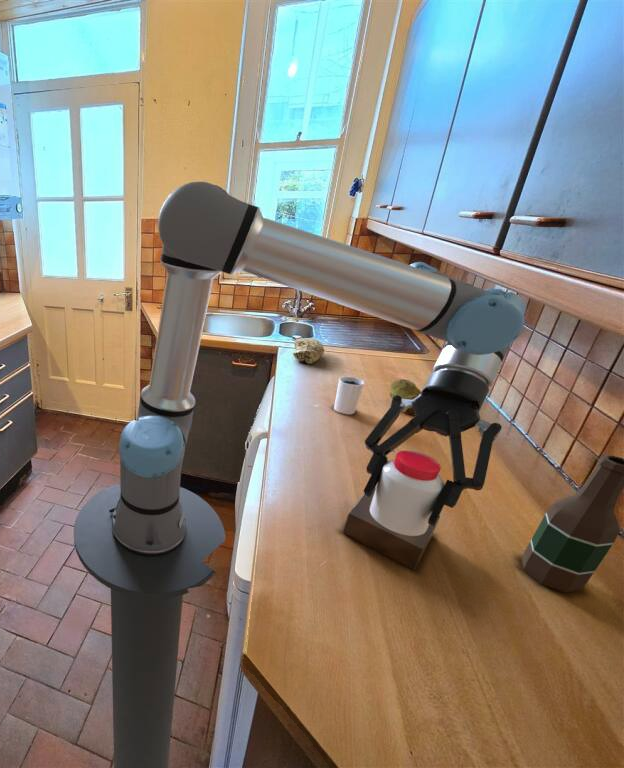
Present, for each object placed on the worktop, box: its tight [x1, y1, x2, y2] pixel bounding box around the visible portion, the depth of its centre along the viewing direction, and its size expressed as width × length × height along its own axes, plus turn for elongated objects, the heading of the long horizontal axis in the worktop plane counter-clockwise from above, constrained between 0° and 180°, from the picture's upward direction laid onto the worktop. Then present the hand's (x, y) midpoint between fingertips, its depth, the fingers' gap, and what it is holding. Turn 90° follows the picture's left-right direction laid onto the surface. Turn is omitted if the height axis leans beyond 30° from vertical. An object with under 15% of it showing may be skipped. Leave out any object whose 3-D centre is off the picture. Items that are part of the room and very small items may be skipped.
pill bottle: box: [370, 450, 445, 536], centre depth 62 cm, size 8×8×11 cm
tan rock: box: [292, 337, 325, 365], centre depth 168 cm, size 13×8×20 cm
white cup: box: [333, 375, 365, 415], centre depth 124 cm, size 7×7×10 cm
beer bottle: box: [521, 454, 624, 593], centre depth 65 cm, size 8×8×24 cm
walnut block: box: [342, 487, 441, 571], centre depth 78 cm, size 12×12×5 cm
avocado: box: [389, 379, 422, 416], centre depth 125 cm, size 8×13×8 cm, turn 159°
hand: (397, 507), depth 61 cm, fingers closed on pill bottle, 8 cm apart
